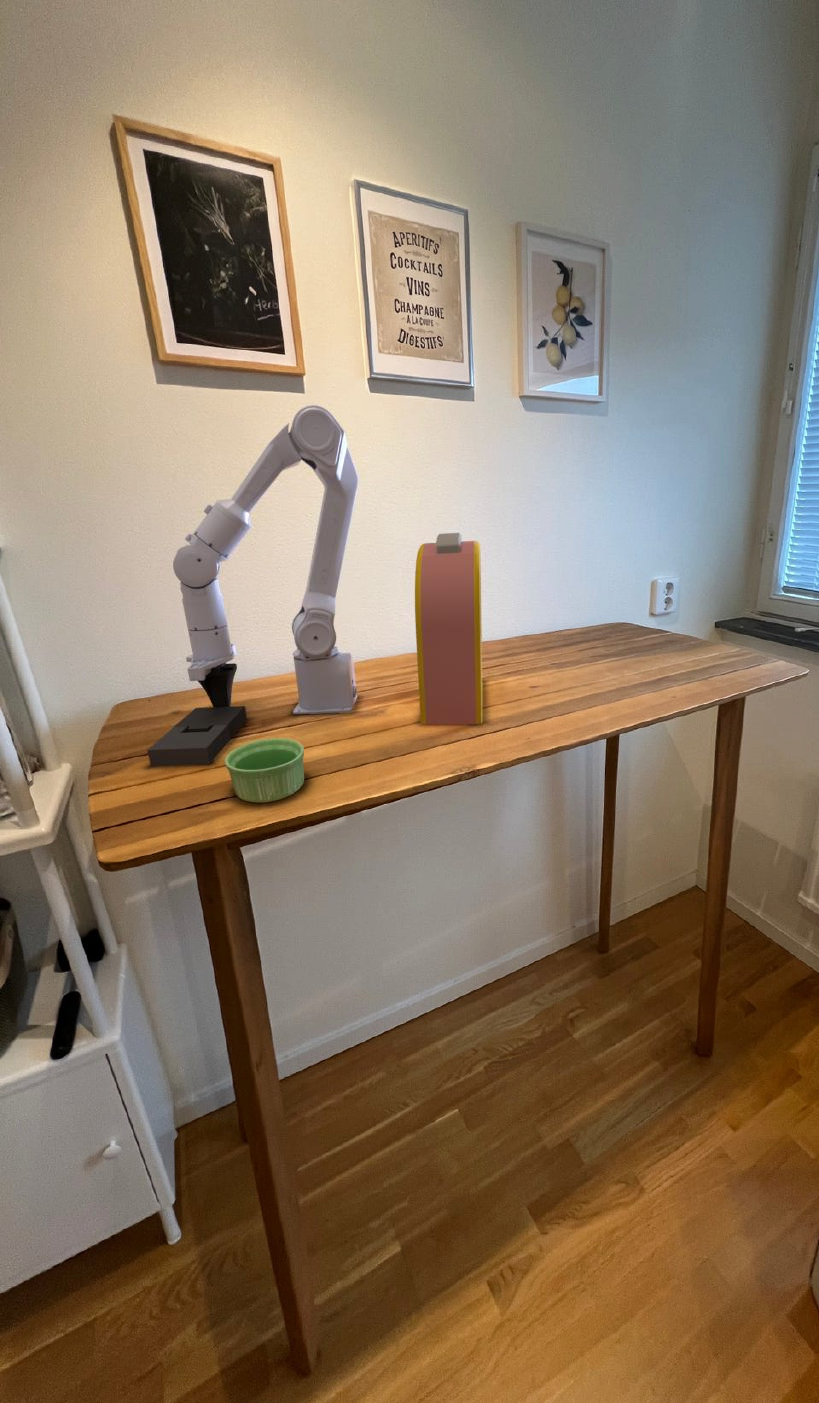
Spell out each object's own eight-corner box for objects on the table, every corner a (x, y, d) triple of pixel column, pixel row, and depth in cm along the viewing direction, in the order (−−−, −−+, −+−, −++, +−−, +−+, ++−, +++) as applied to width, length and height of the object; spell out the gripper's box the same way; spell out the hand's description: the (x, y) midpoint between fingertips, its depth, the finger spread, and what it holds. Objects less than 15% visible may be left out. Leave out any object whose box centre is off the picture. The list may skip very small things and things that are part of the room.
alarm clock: (482, 723, 80) (479, 535, 71) (420, 724, 81) (410, 538, 72) (482, 680, 99) (480, 528, 91) (432, 681, 101) (425, 531, 92)
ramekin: (269, 764, 71) (264, 733, 69) (324, 778, 66) (319, 744, 65) (214, 796, 64) (207, 761, 62) (271, 813, 59) (265, 776, 58)
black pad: (247, 719, 87) (245, 705, 86) (227, 742, 79) (225, 727, 78) (198, 721, 88) (195, 707, 87) (173, 744, 79) (170, 729, 78)
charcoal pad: (230, 739, 80) (227, 724, 79) (209, 764, 72) (206, 747, 71) (176, 742, 80) (173, 726, 79) (150, 766, 72) (146, 749, 72)
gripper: (200, 619, 90) (215, 697, 95) (159, 639, 76) (179, 729, 81) (242, 617, 90) (255, 695, 94) (209, 636, 76) (225, 727, 81)
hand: (223, 711), depth 88 cm, fingers closed
